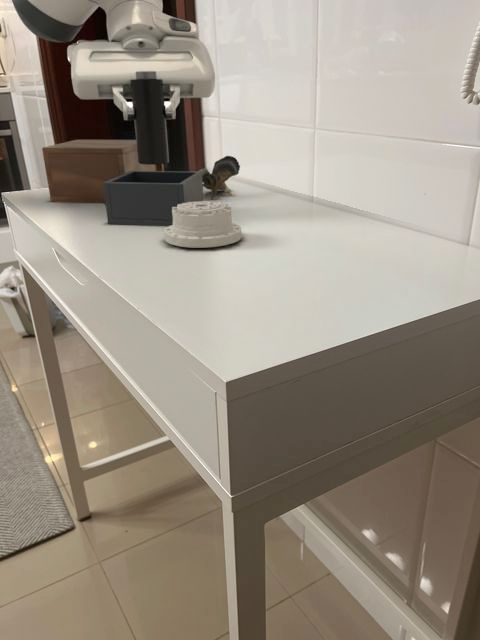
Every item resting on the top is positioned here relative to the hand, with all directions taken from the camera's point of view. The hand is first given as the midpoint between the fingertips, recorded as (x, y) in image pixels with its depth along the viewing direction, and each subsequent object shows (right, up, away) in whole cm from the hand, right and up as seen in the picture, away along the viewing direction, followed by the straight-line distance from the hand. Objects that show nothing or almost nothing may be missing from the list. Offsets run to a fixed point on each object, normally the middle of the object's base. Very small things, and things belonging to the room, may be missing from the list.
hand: (150, 116), depth 79 cm
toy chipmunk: (+8, -5, +22) cm, 24 cm away
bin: (0, -12, +7) cm, 14 cm away
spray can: (0, -5, +3) cm, 6 cm away
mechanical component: (+8, -19, -6) cm, 21 cm away
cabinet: (-13, -5, +23) cm, 27 cm away
